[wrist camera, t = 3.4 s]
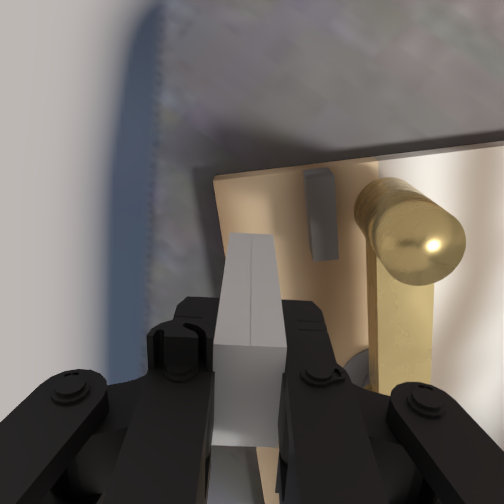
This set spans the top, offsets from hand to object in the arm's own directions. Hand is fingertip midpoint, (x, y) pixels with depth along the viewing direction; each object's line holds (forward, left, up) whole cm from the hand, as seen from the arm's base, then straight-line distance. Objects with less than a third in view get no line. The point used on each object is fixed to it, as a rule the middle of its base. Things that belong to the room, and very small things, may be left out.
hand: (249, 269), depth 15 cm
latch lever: (-6, +6, -6) cm, 10 cm away
